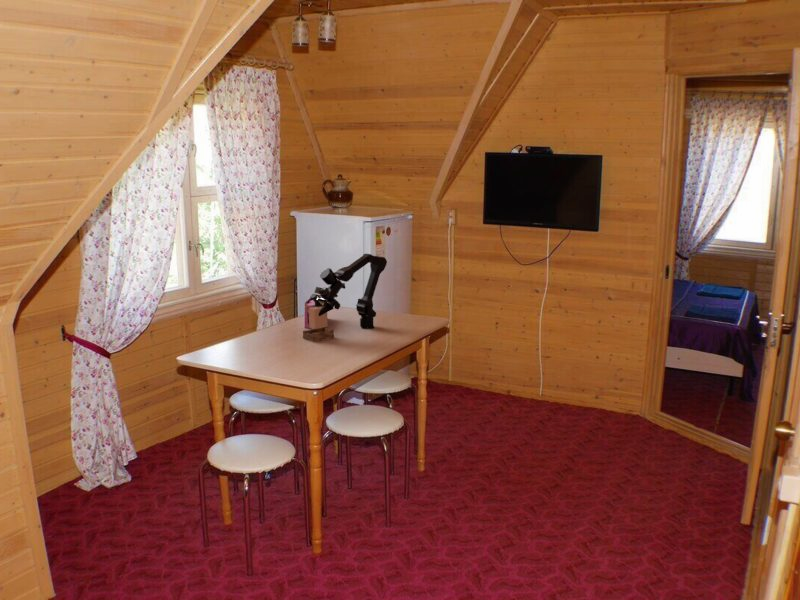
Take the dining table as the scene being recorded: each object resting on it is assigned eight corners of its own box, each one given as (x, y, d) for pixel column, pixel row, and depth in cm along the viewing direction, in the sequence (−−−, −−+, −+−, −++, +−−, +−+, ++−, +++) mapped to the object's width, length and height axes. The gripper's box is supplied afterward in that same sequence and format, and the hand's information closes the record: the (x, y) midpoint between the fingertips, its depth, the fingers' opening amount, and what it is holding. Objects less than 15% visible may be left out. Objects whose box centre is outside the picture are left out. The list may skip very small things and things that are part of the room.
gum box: (318, 329, 393) (317, 304, 390) (303, 328, 393) (303, 303, 391) (327, 318, 416) (326, 295, 413) (313, 318, 417) (312, 294, 414)
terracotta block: (322, 324, 378) (321, 305, 376) (327, 326, 375) (327, 307, 373) (309, 327, 373) (308, 308, 371) (314, 329, 369) (314, 309, 367)
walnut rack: (323, 333, 382) (323, 326, 382) (334, 337, 376) (333, 329, 375) (302, 338, 374) (302, 330, 373) (313, 341, 367) (313, 334, 366)
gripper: (312, 278, 378) (295, 302, 373) (335, 283, 365) (317, 308, 360) (325, 291, 385) (308, 315, 380) (347, 296, 372) (330, 321, 367)
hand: (316, 314), depth 371 cm, fingers closed on terracotta block, 4 cm apart
